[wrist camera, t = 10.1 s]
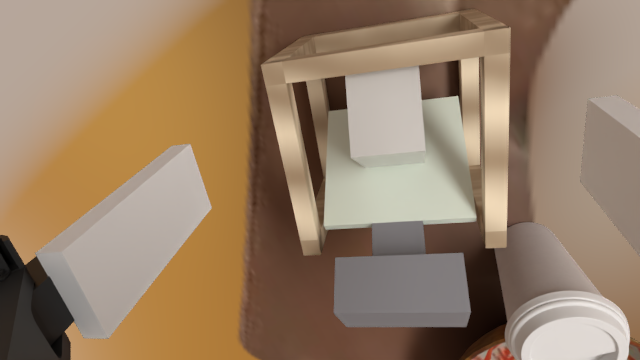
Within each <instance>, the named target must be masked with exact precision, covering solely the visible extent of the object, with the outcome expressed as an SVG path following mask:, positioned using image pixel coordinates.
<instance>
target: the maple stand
mask: <svg viewBox="0 0 640 360" xmlns="http://www.w3.org/2000/svg"><path fill="white" fill-rule="evenodd" d="M510 35H511V27H509V26H507V25H505V24H503V23H501V22H499V21H497V20H495V19H493V18H492V17H490V16H488V15H486V14H484V13H482V12H480V11H478V10H476V9H469V10H463V11H457V12H450V13H444V14H438V15H432V16H426V17H420V18H413V19H407V20H401V21H395V22H389V23H382V24H376V25H370V26H364V27H358V28H352V29H345V30H339V31H333V32H327V33H321V34H315V35H308V36H303V37H301V38H300V39H298V40H297V41H295V42H294V43H292V44H291V45H289V46H288V47H286V48H285V49H283V50H282V51H280V52H279V53H277V54H276V55H275V56H273V57H272V58H270V59H269V60H267V61H266V62H264V63H263V64H261V68H262V72H263V77H264V81H265V86H266V90H267V95H268V99H269V103H270V108H271V112H272V117H273V121H274V126H275V130H276V134H277V139H278V143H279V148H280V152H281V157H282V161H283V166H284V170H285V174H286V179H287V183H288V188H289V192H290V197H291V201H292V205H293V210H294V214H295V219H296V223H297V228H298V232H299V236H300V241H301V245H302V250H303V254H304V256H305V255H321V253H322V250H323V246H324V242H325V239H326V235H327V232H328V230H326V229H325V227H324V208H325V183H326V159H327V135H328V111H330V107H329V101H328V95H327V89H326V83H325V78H330V77H338V76H345V75H352V74H360V73H367V72H374V71H382V70H389V69H396V68H403V67H411V66H418V65H425V64H433V63H440V62H447V61H455V60H458V61H459V93H460V112H461V118H462V125H463V131H464V138H465V144H466V151H467V158H468V164H469V171H470V177H471V184H472V190H473V197H474V203H475V210H476V217H477V218H476V219H477V222H478V225H479V229H480V232H481V235H482V238H483V242H484V245H485V248H506V246H507V193H508V141H509V88H510ZM479 57H480V68H481V166H480V133H479ZM301 81H306V84H307V90H308V95H309V101H310V106H311V111H312V117H313V122H314V128H315V133H316V139H317V144H318V149H319V155H320V160H321V166H322V171H323V177H324V178H323V181H322V184H321V186H320V189H319V192H318V195H317V197H316V200H315V197H314V192H313V187H312V182H311V177H310V172H309V167H308V162H307V157H306V152H305V147H304V142H303V137H302V132H301V127H300V122H299V117H298V112H297V106H296V101H295V96H294V91H293V86H292V83H294V82H301ZM481 168H482V169H481Z"/></svg>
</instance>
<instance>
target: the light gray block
mask: <svg viewBox="0 0 640 360" xmlns="http://www.w3.org/2000/svg"><path fill="white" fill-rule="evenodd" d="M345 81H346V95H347V110H348V124H349V139H350V153H351V158H352V159H353V160H355V161H356V162H358V163H359V164H360V165H362V166H363V167H365V168H372V167H383V166H395V165H407V164H419V163H424V162H425V154H426V147H425V135H424V123H423V111H422V99H421V87H420V75H419V65H418V66H411V67H403V68H396V69H389V70H382V71H374V72H367V73H360V74H352V75H345Z"/></svg>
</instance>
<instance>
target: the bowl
mask: <svg viewBox="0 0 640 360" xmlns="http://www.w3.org/2000/svg"><path fill="white" fill-rule="evenodd" d="M506 325H507V324H504V325H501V326H499V327H497V328H495V329H494V330H492V331H490V332H488V333H486V334H484V335H483V336H482V337H481V338H479V339H478V340H477V341H476V342H474V343H473V344H472V345H471V346H470V347H469V348H468V349H467V350H466V351H465V352H464V354H463V355H462V356H461V357H460V359H459V360H516V359H515V358H514V357H513V355H512V354H511V352H510V351H509V349H508V347H507V345H506V341H505V328H506ZM627 360H640V342H638V341H637V340H635V339H633V338H631V337H630V343H629V354H628V358H627Z"/></svg>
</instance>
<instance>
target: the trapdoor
mask: <svg viewBox="0 0 640 360" xmlns="http://www.w3.org/2000/svg"><path fill="white" fill-rule="evenodd" d="M422 111H423V123H424V135H425V147H426V154H425V162H424V163H419V164H407V165H395V166H383V167H372V168H365V167H363V166H362V165H360V164H359V163H358V162H356V161H355V160H353V159H352V158H351V153H350V139H349V124H348V110H347V109H343V110H335V111H328V135H327V159H326V183H325V208H324V227H325V229H326V230H329V229H348V228H367V227H372V250H373V256H366V257H339V258H335V286H334V314H335V315H336V316H337V317H338V318H339V319H340V320H341V321H342V322H343V323H344V325H345V326H346V327H466V326H467V323H468V320H469V317H470V314H471V309H470V301H469V294H468V286H467V278H466V271H465V263H464V255H463V253H445V254H426V252H425V240H424V228H423V224H442V223H461V222H476V218H477V217H476V210H475V203H474V197H473V190H472V184H471V177H470V171H469V164H468V158H467V151H466V144H465V138H464V131H463V125H462V118H461V112H460V105H459V99H458V96H453V97H445V98H436V99H428V100H422Z"/></svg>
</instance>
